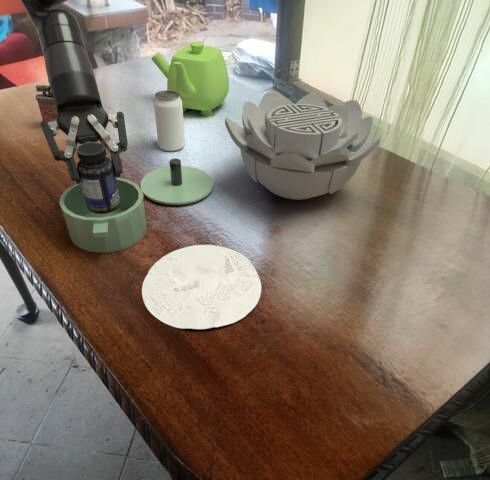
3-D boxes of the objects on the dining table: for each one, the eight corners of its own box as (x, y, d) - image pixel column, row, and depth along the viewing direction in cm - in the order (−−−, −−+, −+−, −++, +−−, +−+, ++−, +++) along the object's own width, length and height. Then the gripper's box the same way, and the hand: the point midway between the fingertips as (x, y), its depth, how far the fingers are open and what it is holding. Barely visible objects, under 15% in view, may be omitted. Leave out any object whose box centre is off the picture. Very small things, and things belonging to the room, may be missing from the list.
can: (175, 154, 109) (170, 102, 100) (153, 147, 111) (147, 96, 102) (190, 144, 113) (187, 93, 104) (168, 138, 115) (164, 87, 106)
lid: (141, 209, 92) (137, 182, 88) (140, 172, 103) (136, 145, 98) (217, 204, 94) (217, 177, 90) (208, 168, 105) (208, 142, 100)
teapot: (171, 86, 139) (166, 26, 127) (238, 97, 135) (239, 35, 123) (133, 117, 123) (123, 51, 111) (207, 130, 118) (205, 63, 107)
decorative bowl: (320, 145, 115) (331, 81, 104) (388, 205, 96) (409, 135, 85) (208, 163, 106) (206, 96, 95) (259, 233, 88) (264, 160, 77)
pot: (64, 265, 79) (53, 231, 74) (74, 203, 93) (65, 172, 88) (148, 258, 81) (143, 225, 76) (146, 199, 95) (142, 168, 90)
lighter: (77, 123, 119) (67, 82, 111) (74, 129, 116) (64, 87, 109) (45, 123, 118) (34, 82, 111) (42, 129, 116) (30, 87, 109)
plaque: (209, 236, 86) (208, 229, 85) (285, 291, 77) (286, 284, 76) (119, 286, 77) (117, 279, 76) (193, 355, 68) (192, 348, 66)
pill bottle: (112, 193, 86) (100, 136, 78) (126, 208, 83) (116, 150, 75) (81, 203, 84) (66, 145, 76) (95, 219, 81) (80, 160, 72)
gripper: (23, 73, 71) (52, 179, 72) (115, 65, 75) (141, 165, 76) (31, 96, 78) (57, 192, 79) (115, 87, 82) (138, 179, 83)
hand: (98, 179), depth 78 cm, fingers closed on pill bottle, 6 cm apart
